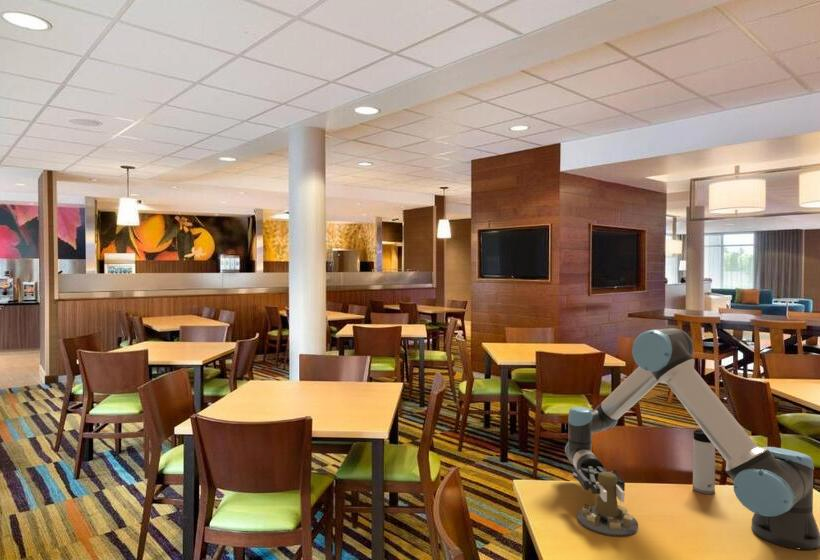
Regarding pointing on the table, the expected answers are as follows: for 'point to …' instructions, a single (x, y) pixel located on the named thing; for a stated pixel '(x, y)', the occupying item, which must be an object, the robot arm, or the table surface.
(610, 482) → the cork
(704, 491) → the travel mug
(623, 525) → the ring holder
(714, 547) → the table surface
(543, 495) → the table surface
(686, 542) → the table surface
